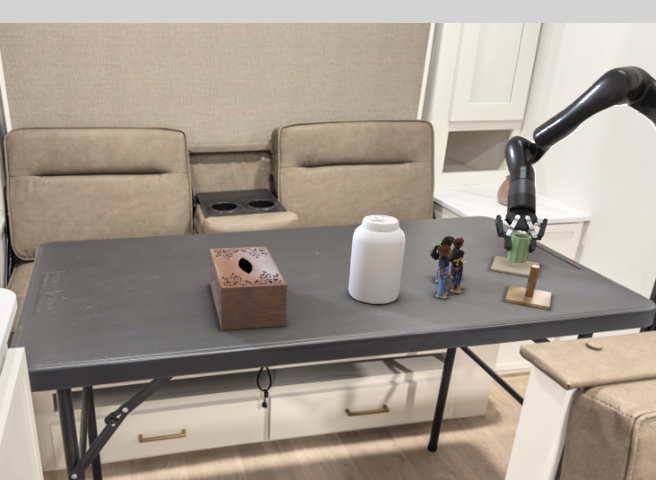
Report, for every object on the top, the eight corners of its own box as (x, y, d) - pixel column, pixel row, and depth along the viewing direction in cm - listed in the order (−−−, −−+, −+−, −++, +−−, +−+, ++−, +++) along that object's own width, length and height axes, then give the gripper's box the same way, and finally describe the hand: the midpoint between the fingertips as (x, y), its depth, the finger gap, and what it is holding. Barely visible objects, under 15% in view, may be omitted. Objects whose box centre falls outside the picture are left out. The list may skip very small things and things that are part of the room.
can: (340, 298, 144) (346, 220, 136) (358, 282, 154) (365, 208, 146) (389, 309, 139) (398, 228, 130) (404, 291, 148) (414, 216, 140)
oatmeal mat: (539, 264, 168) (539, 262, 168) (536, 278, 158) (537, 276, 158) (495, 257, 173) (495, 255, 173) (490, 270, 163) (490, 268, 163)
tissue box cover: (285, 325, 130) (287, 284, 126) (221, 330, 128) (220, 288, 124) (265, 282, 153) (265, 246, 149) (210, 285, 151) (209, 248, 147)
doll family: (470, 305, 141) (479, 253, 136) (431, 302, 143) (439, 250, 137) (457, 271, 162) (464, 225, 157) (423, 269, 164) (430, 223, 158)
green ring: (527, 258, 166) (532, 234, 163) (525, 264, 162) (530, 239, 159) (507, 255, 168) (512, 231, 165) (505, 261, 164) (510, 236, 161)
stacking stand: (551, 295, 148) (558, 263, 144) (549, 309, 140) (557, 276, 136) (509, 287, 152) (515, 256, 148) (504, 301, 144) (511, 269, 140)
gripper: (498, 189, 166) (495, 242, 160) (552, 193, 163) (551, 247, 157) (492, 203, 173) (489, 254, 167) (544, 207, 169) (543, 259, 164)
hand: (519, 250), depth 162 cm, fingers closed on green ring, 5 cm apart
